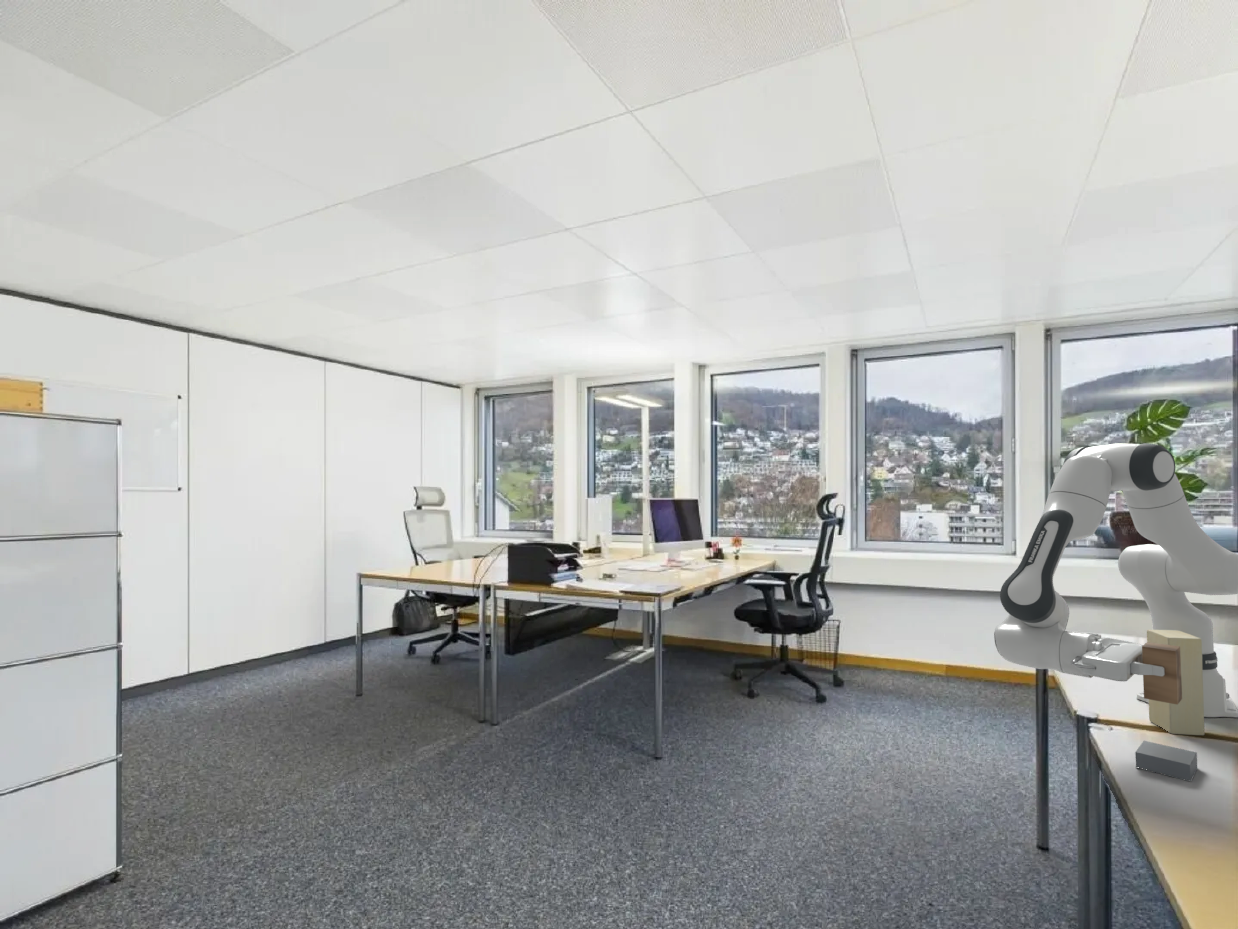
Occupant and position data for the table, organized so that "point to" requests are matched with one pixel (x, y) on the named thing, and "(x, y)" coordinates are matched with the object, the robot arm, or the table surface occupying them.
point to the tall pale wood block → (1191, 706)
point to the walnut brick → (1170, 683)
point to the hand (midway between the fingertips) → (1167, 668)
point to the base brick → (1166, 760)
